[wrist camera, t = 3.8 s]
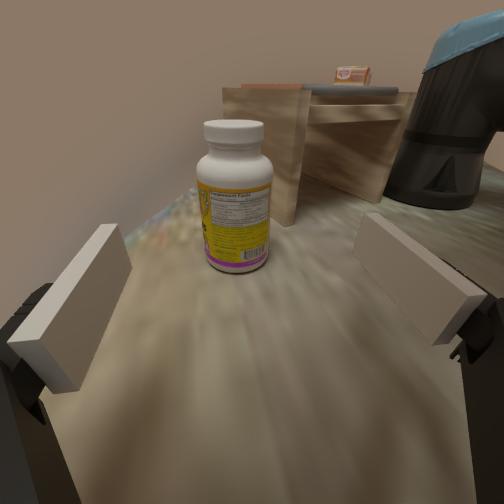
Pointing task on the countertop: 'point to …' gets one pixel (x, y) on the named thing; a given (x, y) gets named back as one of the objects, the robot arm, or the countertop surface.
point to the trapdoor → (331, 89)
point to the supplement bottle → (235, 195)
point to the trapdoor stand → (323, 139)
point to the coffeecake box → (353, 76)
